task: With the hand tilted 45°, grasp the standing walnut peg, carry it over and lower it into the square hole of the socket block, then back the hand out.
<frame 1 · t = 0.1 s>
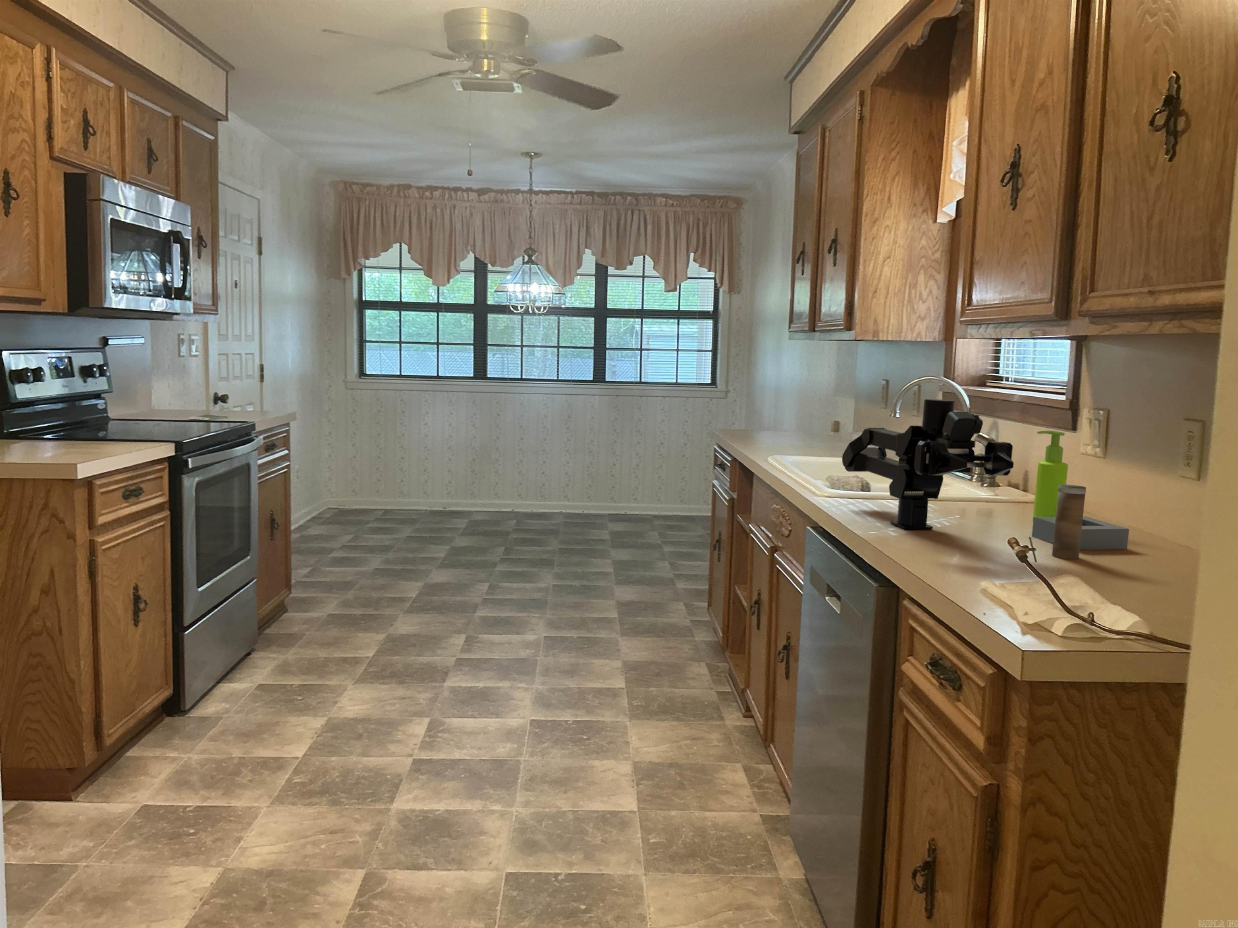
hand: (989, 464, 165), 17 cm above the worktop, tool horizontal, fingers open, 9 cm apart
soap dispenser: (1045, 522, 203), on the worktop
socket block: (1078, 542, 182), on the worktop
peg: (1065, 556, 169), on the worktop
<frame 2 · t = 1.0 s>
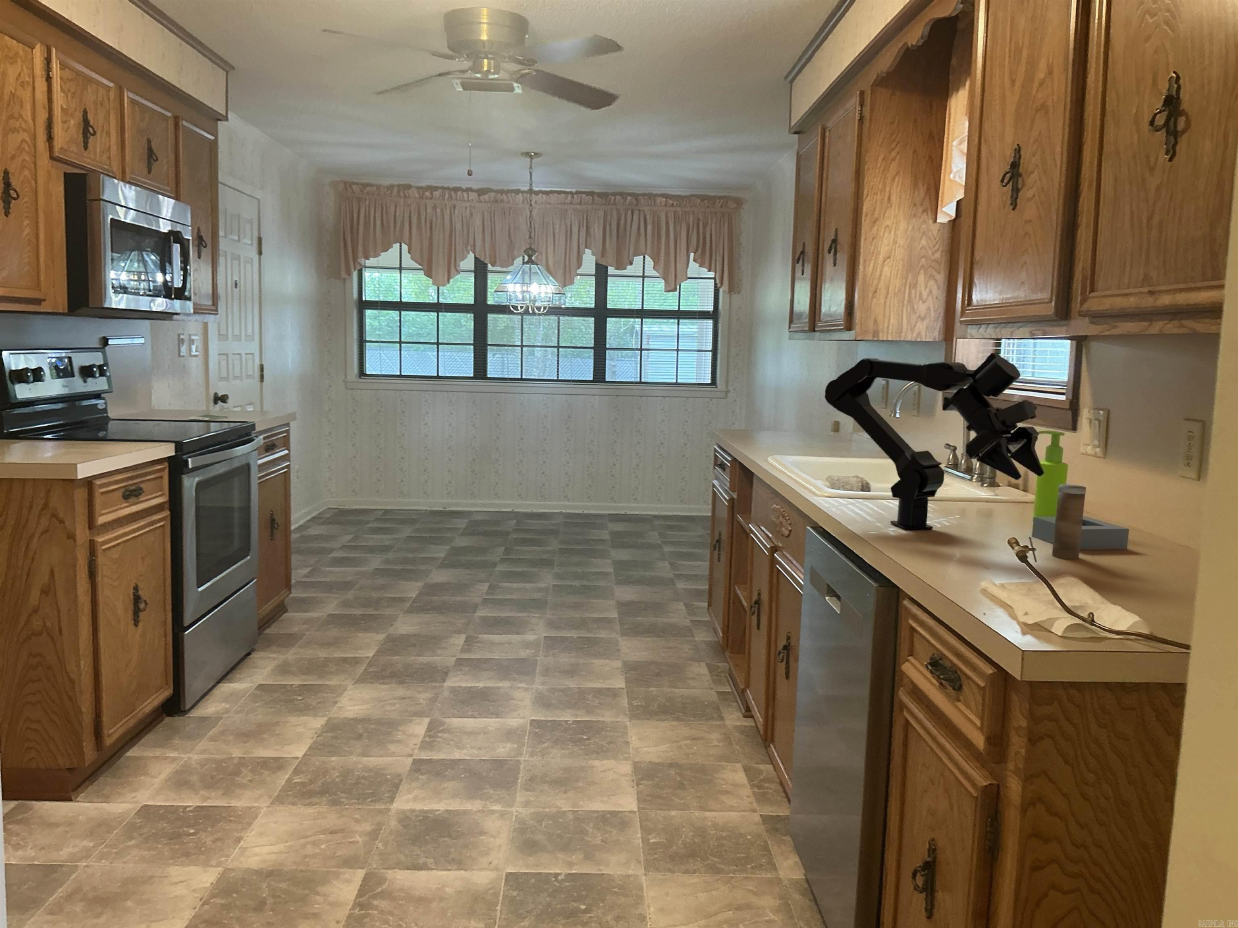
hand: (1030, 476, 173), 14 cm above the worktop, tool tilted 45°, fingers open, 9 cm apart
nothing on the worktop moved.
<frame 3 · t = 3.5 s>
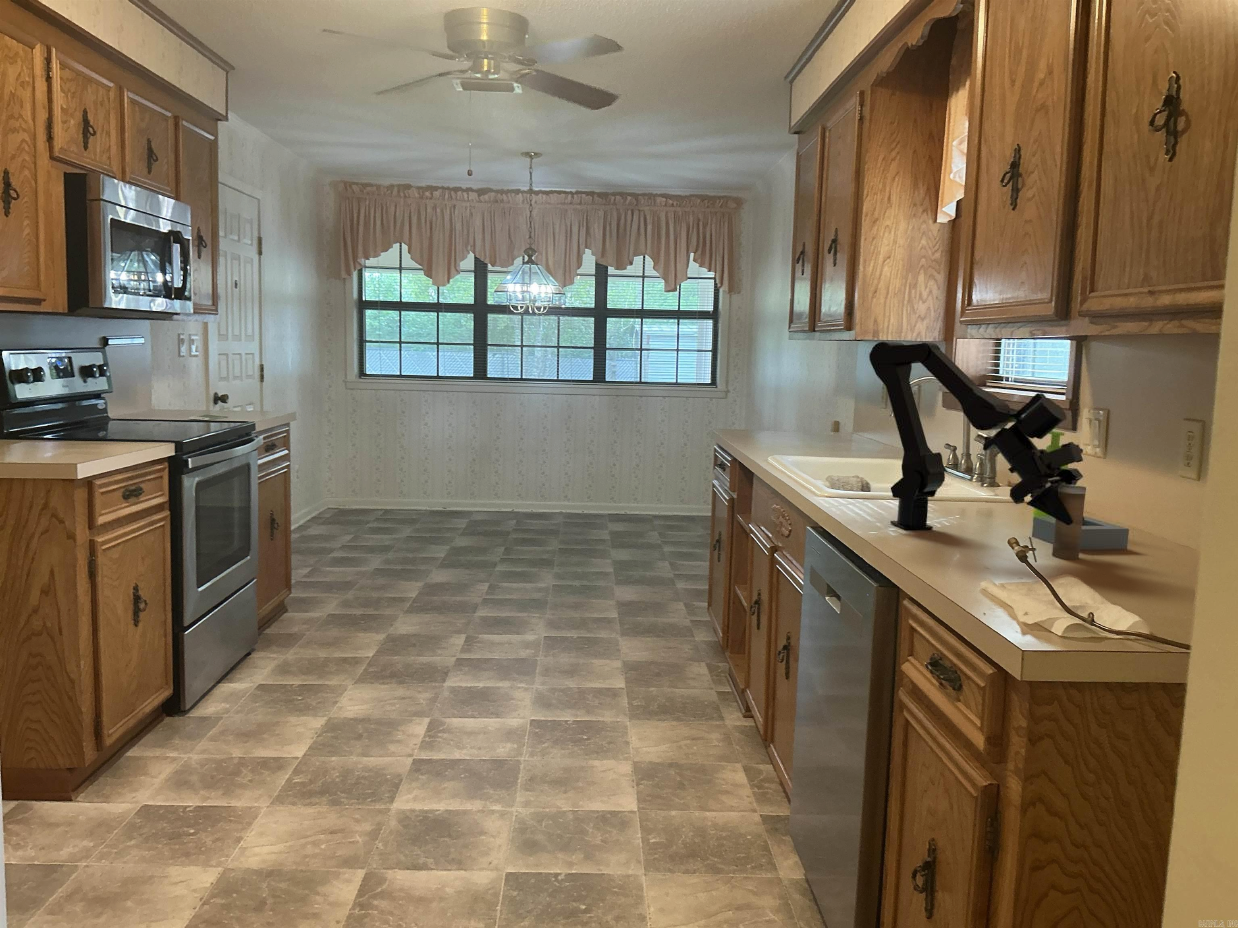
hand: (1076, 522, 167), 7 cm above the worktop, tool tilted 45°, fingers closed on peg, 4 cm apart
peg: (1065, 556, 169), on the worktop, touching gripper
everything else where it was.
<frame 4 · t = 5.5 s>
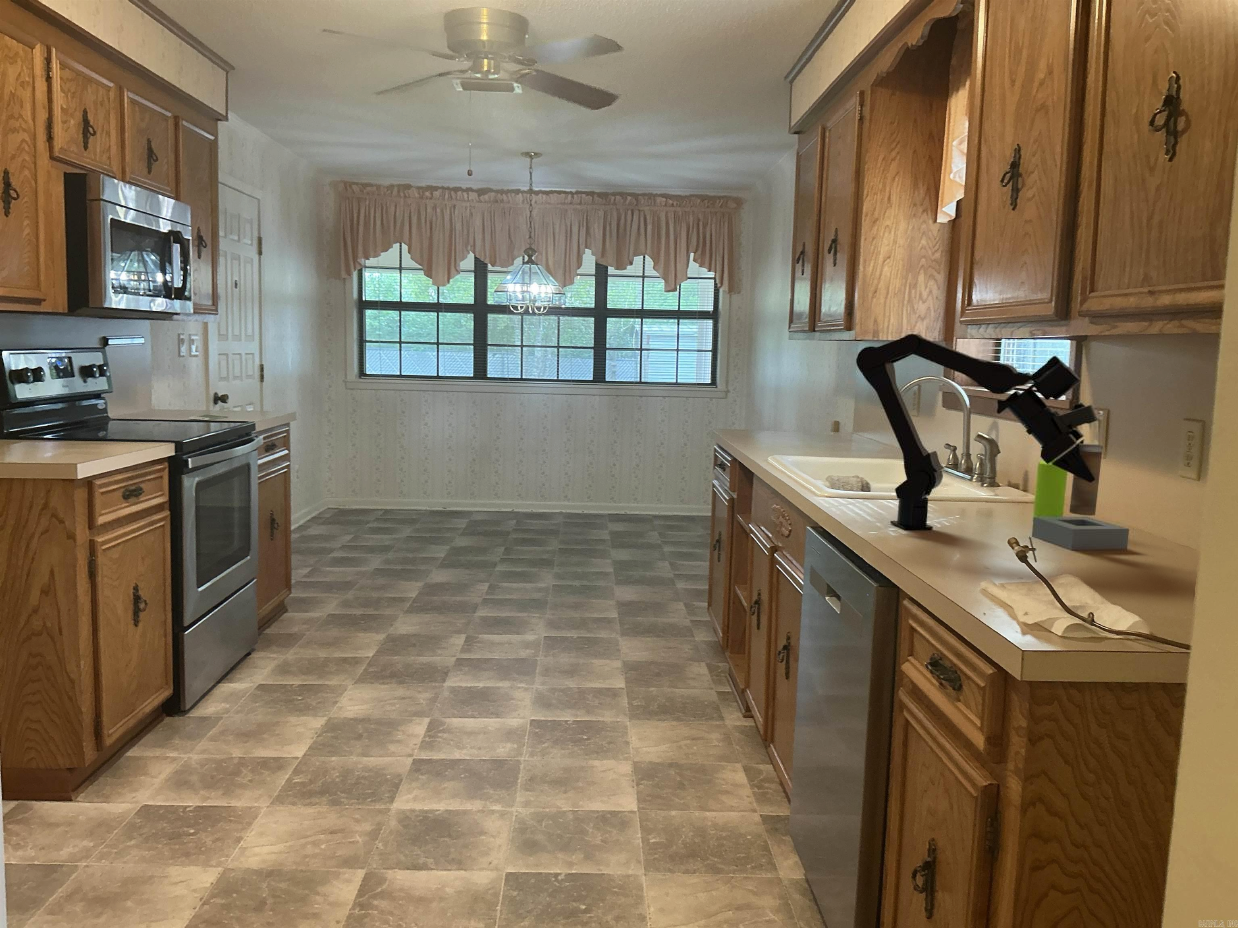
hand: (1093, 479, 174), 13 cm above the worktop, tool tilted 45°, fingers closed on peg, 4 cm apart
peg: (1082, 513, 176), point 7 cm above the worktop, touching gripper
everything else where it was.
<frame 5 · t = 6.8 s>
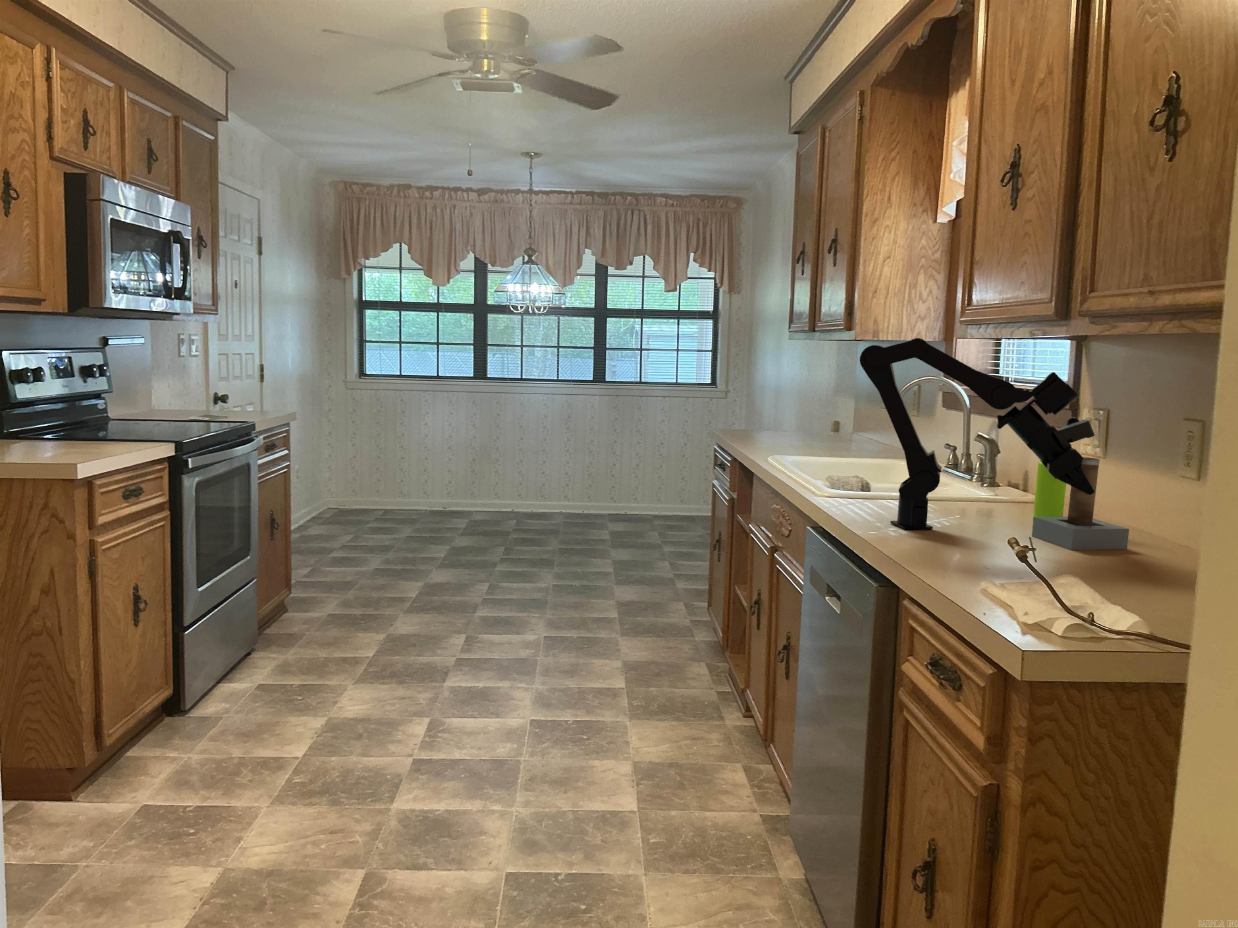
hand: (1090, 491, 180), 10 cm above the worktop, tool tilted 45°, fingers closed on peg, 4 cm apart
peg: (1079, 524, 181), point 4 cm above the worktop, touching gripper
everything else where it was.
when the fingers open (7 cm above the worktop, at t = 7.8 s): peg stays where it is, resting in socket block.
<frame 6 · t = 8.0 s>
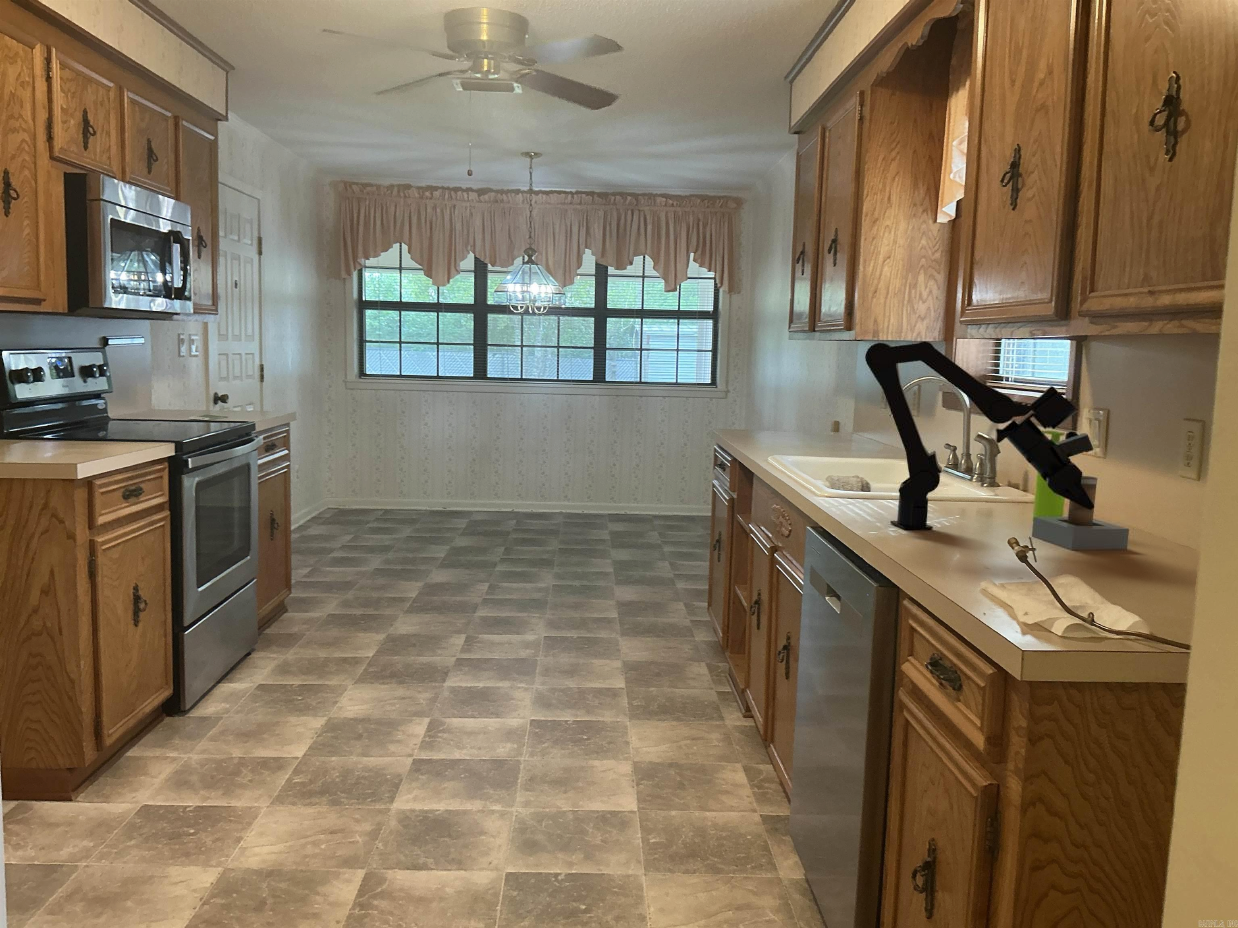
hand: (1089, 505, 180), 8 cm above the worktop, tool tilted 45°, fingers open, 7 cm apart
peg: (1077, 542, 182), resting in socket block
everything else where it was.
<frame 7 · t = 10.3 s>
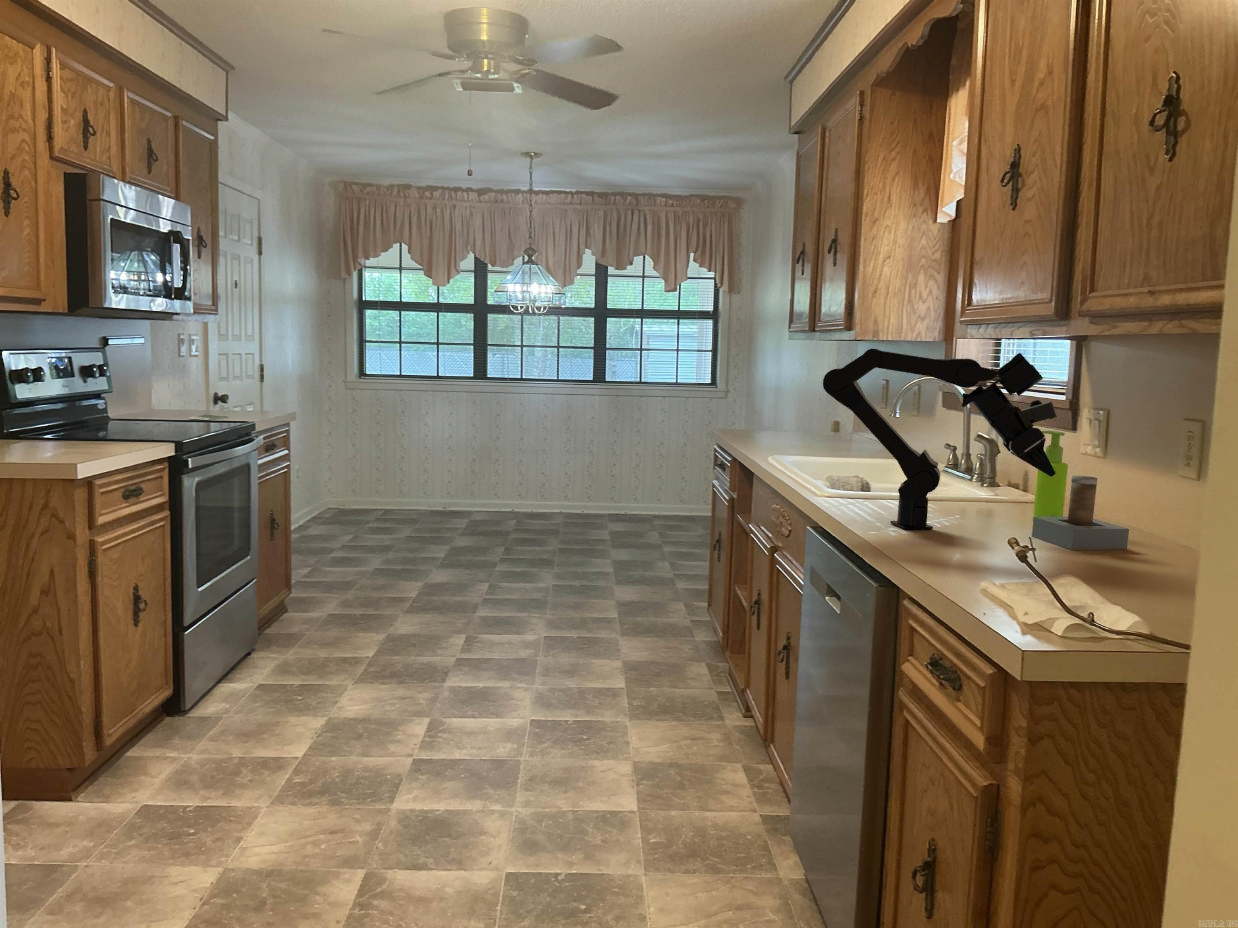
hand: (1050, 473, 182), 13 cm above the worktop, tool tilted 40°, fingers open, 9 cm apart
nothing on the worktop moved.
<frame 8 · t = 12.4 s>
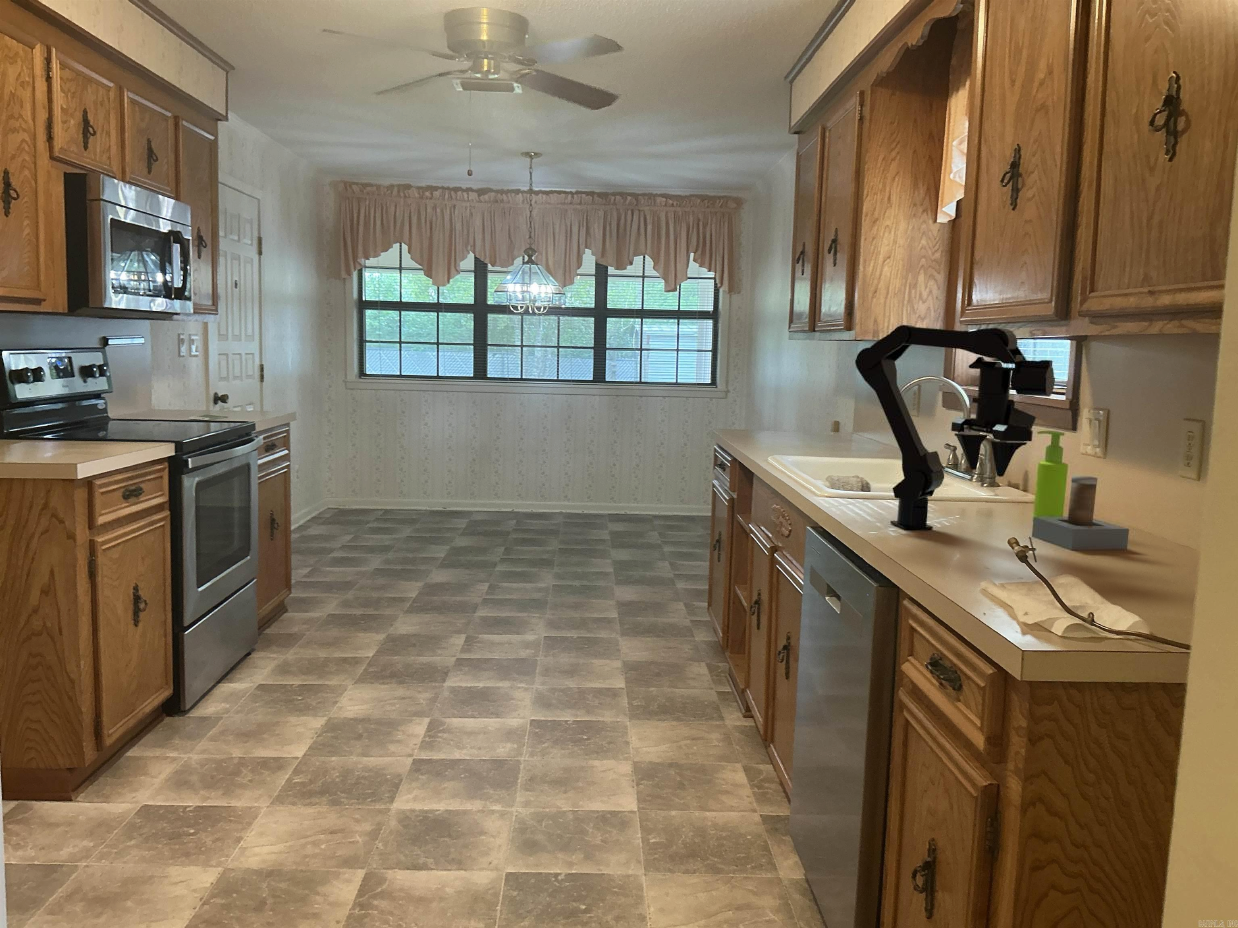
hand: (986, 473, 182), 13 cm above the worktop, tool pointing down, fingers open, 9 cm apart
nothing on the worktop moved.
at the end: peg 0.0 cm off-centre on the socket block, point 0.0 cm above the socket block's base; peg tilted 0°; the gripper is holding nothing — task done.
